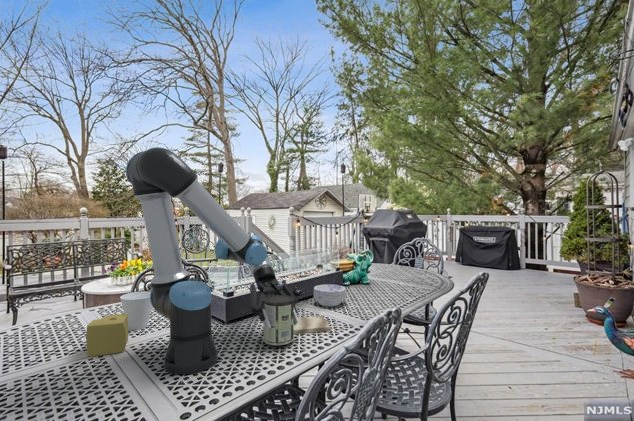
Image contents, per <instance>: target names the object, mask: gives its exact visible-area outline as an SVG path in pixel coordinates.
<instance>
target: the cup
mask: <svg viewBox="0 0 634 421" xmlns="http://www.w3.org/2000/svg"><path fill="white" fill-rule="evenodd" d="M150 293H151V291H145V290H144V291H134V292H129V293H125V294H123V295H121V296H120V297H119V298H120V301H121V306H122V310H123V314H128V331H129V330H130V331H138V330H143V329H146V328H148V325H149V321H150V318H151V317H150V316H151V311H152V307H153V306H152V304H151V301H150Z"/></svg>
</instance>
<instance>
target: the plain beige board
mask: <svg viewBox="0 0 634 421" xmlns="http://www.w3.org/2000/svg"><path fill="white" fill-rule="evenodd" d="M298 319H299V322H298V323H297V324H296V325H294V323H293V335H297V334H298V335H299V333H300V334H312V333H323V332H331V331H332V330H331V328H332V327H331V326H330V324H329V323H328V321H327V320H326V318H325V317H324V316H323V315H318V316H316V315H315V316H306V317H298Z"/></svg>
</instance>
